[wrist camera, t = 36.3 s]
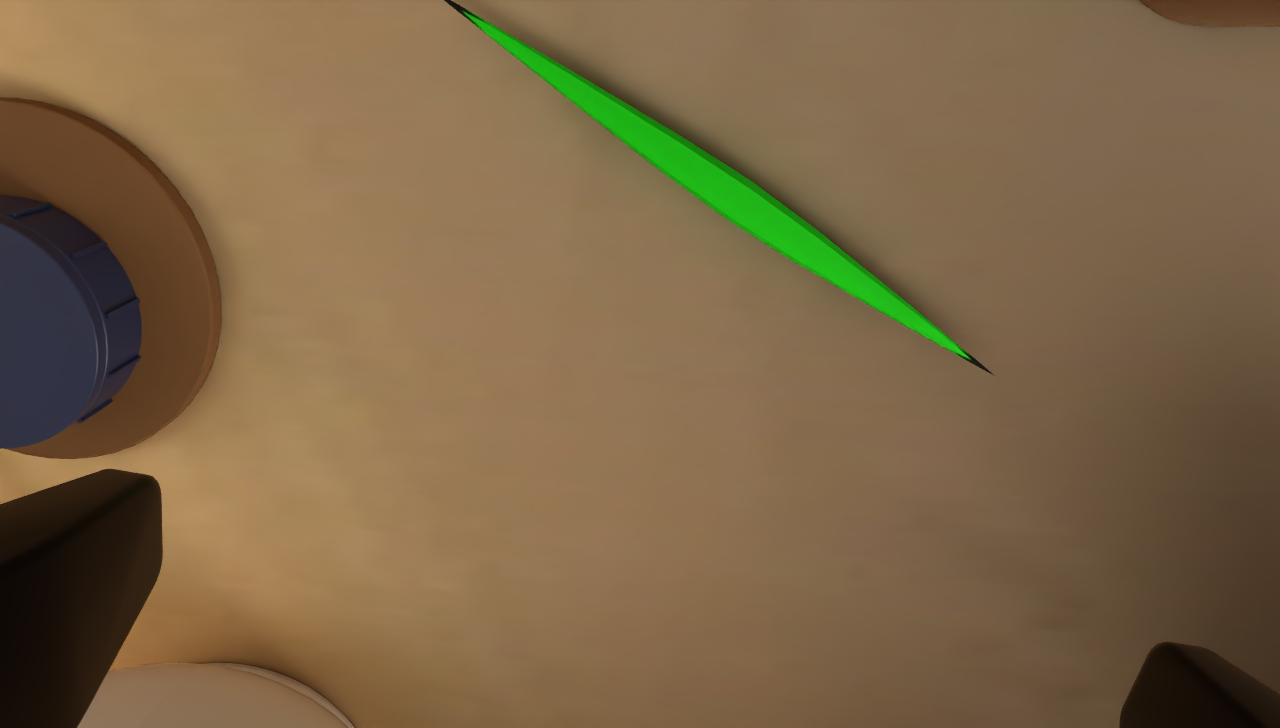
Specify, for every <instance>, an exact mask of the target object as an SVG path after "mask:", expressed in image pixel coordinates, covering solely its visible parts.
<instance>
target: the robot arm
mask: <svg viewBox="0 0 1280 728" xmlns="http://www.w3.org/2000/svg"><path fill="white" fill-rule="evenodd" d="M162 557H163V546H162V503H161V489H160V486H159V483H158V481H157V480H156V479H155V478H154V477H153V476H150V475H145V474H139V473H133V472H127V471H121V470H115V469H105V470H101V471H98V472H95V473H92V474H89V475H86V476H83V477H80V478H77V479H74V480H71V481H68V482H66V483H63V484H60V485H57V486H54V487H51V488H48V489H45V490H42V491H39V492H36V493H33V494H30V495H27V496H24V497H21V498H18V499H15V500H12V501H9V502H6V503H3V504H0V728H77V727H78V726H79V724H80V722H81V720H82V719H83V717H84V715H85V713H86V712H87V710H88V708H89V706H90V704H91V703H92V701H93V699H94V697H95V695H96V693H97V691H98V690H99V688H100V686H101V684H102V682H103V680H104V678H105V676H106V675H107V673H108V671H109V669H110V667H111V665H112V663H113V662H114V660H115V658H116V656H117V654H118V652H119V650H120V649H121V647H122V645H123V643H124V641H125V639H126V637H127V636H128V634H129V632H130V630H131V628H132V626H133V624H134V622H135V621H136V619H137V617H138V615H139V613H140V611H141V609H142V608H143V606H144V604H145V602H146V600H147V598H148V596H149V595H150V593H151V591H152V589H153V587H154V585H155V583H156V581H157V578H158V576H159V573H160V569H161V565H162ZM1120 728H1280V694H1278V693H1277V692H1275V691H1273V690H1272V689H1270V688H1269V687H1267V686H1266V685H1264V684H1263V683H1261V682H1259V681H1258V680H1256V679H1255V678H1253V677H1252V676H1250V675H1249V674H1247V673H1245V672H1244V671H1242V670H1241V669H1239V668H1238V667H1236V666H1234V665H1233V664H1231V663H1230V662H1228V661H1227V660H1225V659H1224V658H1222V657H1220V656H1219V655H1217V654H1216V653H1214V652H1213V651H1211V650H1209V649H1206V648H1203V647H1199V646H1193V645H1186V644H1180V643H1174V642H1162V643H1159V644H1157V645H1155V646H1154V647H1153V648H1152V649H1151V650H1150V652H1149V654H1148V655H1147V657H1146V660H1145V662H1144V664H1143V666H1142V668H1141V670H1140V672H1139V674H1138V676H1137V678H1136V680H1135V682H1134V684H1133V687H1132V689H1131V691H1130V693H1129V695H1128V697H1127V699H1126V701H1125V703H1124V705H1123V708H1122V711H1121V716H1120Z"/></svg>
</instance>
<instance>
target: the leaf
mask: <svg viewBox="0 0 1280 728" xmlns="http://www.w3.org/2000/svg"><path fill="white" fill-rule="evenodd" d="M445 1H446V2H447V3H448V4H449V5H451V6H452V7H453V8H454V9H456V10H457V11H458V12H459V13H461V14H462V15H463V16H464V17H466V18H467V19H468V20H470V21H471V22H472V23H473V24H475V25H476V26H477V27H478V28H480V29H481V30H482V31H483V32H485V33H486V34H487V35H488V36H490V37H491V38H492V39H493V40H495V41H496V42H497V43H498V44H500V45H501V46H502V47H503V48H505V49H506V50H507V51H508V52H510V53H511V54H512V55H513V56H515V57H516V58H517V59H518V60H520V61H521V62H522V63H523V64H525V65H526V66H527V67H529V68H530V69H531V70H532V71H534V72H535V73H536V74H537V75H539V76H540V77H541V78H542V79H544V80H545V81H546V82H547V83H549V84H550V85H551V86H552V87H554V88H555V89H556V90H557V91H559V92H560V93H561V94H563V95H564V96H565V97H566V98H568V99H569V100H570V101H572V102H573V103H574V104H575V105H577V106H578V107H579V108H580V109H582V110H583V111H584V112H586V113H587V114H588V115H589V116H591V117H592V118H593V119H595V120H596V121H597V122H598V123H600V124H601V125H602V126H604V127H605V128H606V129H607V130H609V131H610V132H611V133H612V134H614V135H615V136H616V137H618V138H619V139H620V140H621V141H623V142H624V143H625V144H627V145H628V146H629V147H630V148H632V149H633V150H634V151H635V152H637V153H638V154H639V155H641V156H642V157H643V158H644V159H646V160H647V161H648V162H650V163H651V164H652V165H653V166H655V167H656V168H657V169H659V170H660V171H661V172H663V173H664V174H665V175H667V176H668V177H669V178H671V179H672V180H674V181H675V182H676V183H678V184H679V185H680V186H682V187H683V188H684V189H686V190H687V191H689V192H690V193H691V194H693V195H694V196H695V197H697V198H698V199H700V200H701V201H702V202H704V203H705V204H706V205H708V206H709V207H710V208H712V209H713V210H715V211H716V212H717V213H719V214H720V215H721V216H723V217H724V218H726V219H727V220H728V221H730V222H732V223H733V224H735V225H736V226H738V227H740V228H741V229H743V230H744V231H746V232H747V233H749V234H751V235H752V236H754V237H755V238H757V239H759V240H760V241H762V242H763V243H765V244H766V245H768V246H770V247H771V248H773V249H774V250H776V251H778V252H779V253H781V254H782V255H784V256H786V257H787V258H789V259H790V260H792V261H794V262H795V263H797V264H799V265H800V266H802V267H804V268H806V269H807V270H809V271H811V272H813V273H814V274H816V275H818V276H819V277H821V278H823V279H825V280H826V281H828V282H830V283H832V284H833V285H835V286H837V287H838V288H840V289H842V290H844V291H845V292H847V293H849V294H851V295H852V296H854V297H856V298H857V299H859V300H861V301H863V302H864V303H866V304H868V305H870V306H871V307H873V308H875V309H876V310H878V311H880V312H882V313H883V314H885V315H887V316H889V317H890V318H892V319H894V320H896V321H897V322H899V323H901V324H903V325H905V326H906V327H908V328H910V329H912V330H913V331H915V332H917V333H919V334H921V335H922V336H924V337H926V338H928V339H929V340H931V341H933V342H935V343H937V344H938V345H940V346H942V347H944V348H946V349H947V350H949V351H951V352H953V353H954V354H956V355H958V356H960V357H962V358H963V359H965V360H967V361H969V362H971V363H972V364H974V365H976V366H978V367H980V368H981V369H983V370H985V371H987V372H989V373H991V372H990V371H989V370H987V369H986V368H985V367H984V366H983V365H982V364H980V363H979V362H978V361H977V360H976V359H975V358H973V357H972V356H971V355H970V354H969V353H967V352H966V351H965V350H964V349H963V348H961V347H960V346H959V345H958V344H956V343H955V342H954V341H953V340H952V339H950V338H949V337H948V336H947V335H946V334H944V333H943V332H942V331H941V330H940V329H938V328H937V327H936V326H935V325H934V324H932V323H931V322H930V321H929V320H928V319H926V318H925V317H924V316H923V315H921V314H920V313H919V312H918V311H917V310H915V309H914V308H913V307H912V306H911V305H909V304H908V303H907V302H906V301H905V300H903V299H902V298H901V297H900V296H898V295H897V294H896V293H895V292H893V291H892V290H891V289H890V288H889V287H887V286H886V285H885V284H884V283H882V282H881V281H880V280H879V279H877V278H876V277H875V276H874V275H872V274H871V273H870V272H869V271H867V270H866V269H865V268H864V267H862V266H861V265H860V264H859V263H858V262H856V261H855V260H854V259H853V258H851V257H850V256H849V255H848V254H846V253H845V252H844V251H843V250H841V249H840V248H839V247H838V246H836V245H835V244H834V243H833V242H831V241H830V240H829V239H828V238H827V237H825V236H824V235H823V234H822V233H820V232H819V231H818V230H817V229H815V228H814V227H813V226H811V225H810V224H809V223H807V222H806V221H805V220H803V219H802V218H800V217H799V216H798V215H796V214H795V213H794V212H792V211H791V210H790V209H788V208H787V207H786V206H784V205H783V204H782V203H780V202H779V201H778V200H776V199H775V198H774V197H772V196H771V195H770V194H768V193H767V192H766V191H764V190H763V189H762V188H760V187H759V186H757V185H756V184H755V183H753V182H752V181H750V180H749V179H747V178H746V177H744V176H743V175H741V174H739V173H738V172H736V171H735V170H733V169H732V168H730V167H729V166H727V165H725V164H724V163H722V162H721V161H719V160H718V159H716V158H714V157H713V156H711V155H710V154H708V153H707V152H705V151H704V150H702V149H700V148H699V147H697V146H696V145H694V144H693V143H691V142H690V141H688V140H686V139H685V138H683V137H682V136H680V135H678V134H677V133H675V132H673V131H672V130H670V129H668V128H667V127H665V126H663V125H662V124H660V123H658V122H657V121H655V120H653V119H652V118H650V117H648V116H647V115H645V114H643V113H641V112H640V111H638V110H636V109H635V108H633V107H631V106H630V105H628V104H626V103H625V102H623V101H621V100H620V99H618V98H616V97H615V96H613V95H611V94H610V93H608V92H606V91H605V90H603V89H601V88H600V87H598V86H596V85H595V84H593V83H591V82H589V81H588V80H586V79H584V78H583V77H581V76H579V75H578V74H576V73H574V72H573V71H571V70H569V69H568V68H566V67H564V66H563V65H561V64H559V63H557V62H556V61H554V60H552V59H551V58H549V57H547V56H545V55H544V54H542V53H540V52H539V51H537V50H535V49H533V48H532V47H530V46H528V45H527V44H525V43H523V42H521V41H520V40H518V39H516V38H515V37H513V36H511V35H509V34H508V33H506V32H504V31H503V30H501V29H499V28H497V27H496V26H494V25H492V24H491V23H489V22H487V21H485V20H484V19H482V18H480V17H479V16H477V15H475V14H473V13H472V12H470V11H468V10H467V9H465V8H463V7H461V6H460V5H458V4H456V3H455V2H453V1H451V0H445ZM991 374H992V373H991ZM992 375H993V374H992ZM994 376H995V375H994Z"/></svg>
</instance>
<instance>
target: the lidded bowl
mask: <svg viewBox="0 0 1280 728" xmlns="http://www.w3.org/2000/svg"><path fill="white" fill-rule="evenodd" d="M77 728H354V726H353V725H352V724H351V723H350V722H349V720H348V719H347V718H346V717H345V716H344V714H343V713H341V712H340V711H339V710H338V709H337V708H336V707H335V706H334V705H333V704H331V703H330V702H329V701H328V700H327V699H325V698H324V697H322V696H321V695H320V694H318V693H317V692H315V691H314V690H312V689H311V688H309V687H307V686H305V685H303V684H301V683H299V682H298V681H296V680H294V679H292V678H290V677H287V676H284V675H281V674H279V673H276V672H273V671H270V670H267V669H263V668H258V667H254V666H249V665H244V664H233V663H203V664H192V663H156V664H143V665H137V666H132V667H127V668H121V669H116V670H111V671H108V673H107V675H106V676H105V678H104V680H103V682H102V684H101V686H100V688H99V690H98V691H97V693H96V695H95V697H94V699H93V701H92V703H91V704H90V706H89V708H88V710H87V712H86V713H85V715H84V717H83V719H82V720H81V722H80V724H79V726H78V727H77Z"/></svg>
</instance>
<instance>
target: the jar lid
mask: <svg viewBox="0 0 1280 728" xmlns="http://www.w3.org/2000/svg"><path fill="white" fill-rule="evenodd" d="M107 245H108V244H107V242H106V241H102V240H101V239H100V238H99V237H98V236H97V235H96V234H95V233H94V232H92V231H91V230H90V229H89V228H87V227H86V226H85V225H84V224H82V223H81V222H80V221H78V220H76V219H75V218H73V217H72V216H70V215H68V214H67V213H65V212H63V211H61V210H59V209H57V208H55V207H53V206H52V203H50V202H48V201H47V202H43V203H42V202H39V201H36V200H32V199H28V198H23V197H19V196H9V195H0V449H1V448H18V447H25V446H30V445H33V444H37V443H40V442H43V441H45V440H47V439H49V438H52V437H54V436H56V435H57V434H59V433H60V432H62V431H63V430H65V429H66V428H68V427H69V426H71V425H72V424H74V423H75V422H78V423H79V424H81V423H82V422H84V421H85V420H87V419H88V418H90V417H91V416H93V415H94V414H96V413H97V412H99V411H100V410H102V409H103V408H105V407H106V406H108V405H109V404H111V403H112V402H113V400H112V399H111V398H112V397H113V396H114V395H115V394H116V393H117V392H119V391H120V389H121V388H122V387H123V386H124V384H125V383H126V382H127V380H128V379H129V377H130V375H131V373H132V372H133V370H134V367H135V365H136V363H137V362H139V361H140V360H141V356H139V351H140V346H141V337H142V323H141V313H140V309H139V304H138V303H140V300H139V298H137V297H136V294H135V291H134V289H133V286H132V284H131V282H130V280H129V278H128V276H127V274H126V272H125V270H124V268H123V267H122V265H121V264H120V262H119V261H118V259H117V257H116V256H115V255H114V254H113V252H112V251H111V250H110V249H109V248H108V246H107Z"/></svg>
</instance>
